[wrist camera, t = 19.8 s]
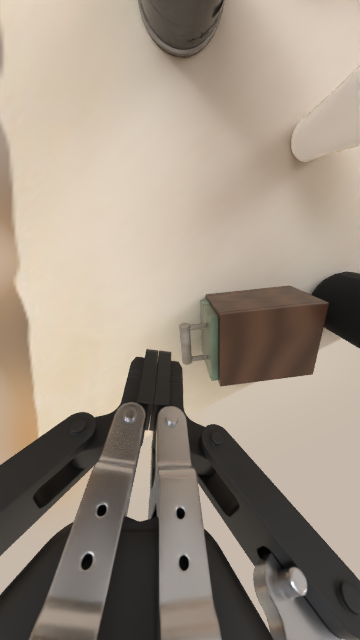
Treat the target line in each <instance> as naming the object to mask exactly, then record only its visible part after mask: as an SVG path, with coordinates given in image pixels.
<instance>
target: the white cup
mask: <svg viewBox="0 0 360 640" xmlns="http://www.w3.org/2000/svg"><path fill="white" fill-rule="evenodd" d="M359 145H360V66H359V67H358V68H357V69H356V70H355V71H353V72H352V73H351V74H350V75H349V76H348V77H347V78H346V79H345V80H344V81H343V82H342V83H341V84H340V85H339V86H338V87H337V88H336V89H334V90H333V91H332V92H331V93H330V94H329V95H328V96H327V97H326V98H325V99H324V100H323V101H322V102H321V103H320V104H318V105H317V106H316V107H315V108H314V109H313V110H312V111H311V112H309V113H308V114H307V115H306V116H304V117H303V118H302V119H301V120H300V121H299V123H298V124H297V125H296V127H295V129H294V131H293V134H292V138H291V149H292V152H293V154H294V156H295V157H296V158H297V159H298V160H300V161H302V162H309V161H312V160H315V159H317V158H319V157H323V156H326V155H329V154H332V153H335V152H339V151H342V150H345V149H349V148H352V147H356V146H359Z"/></svg>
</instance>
